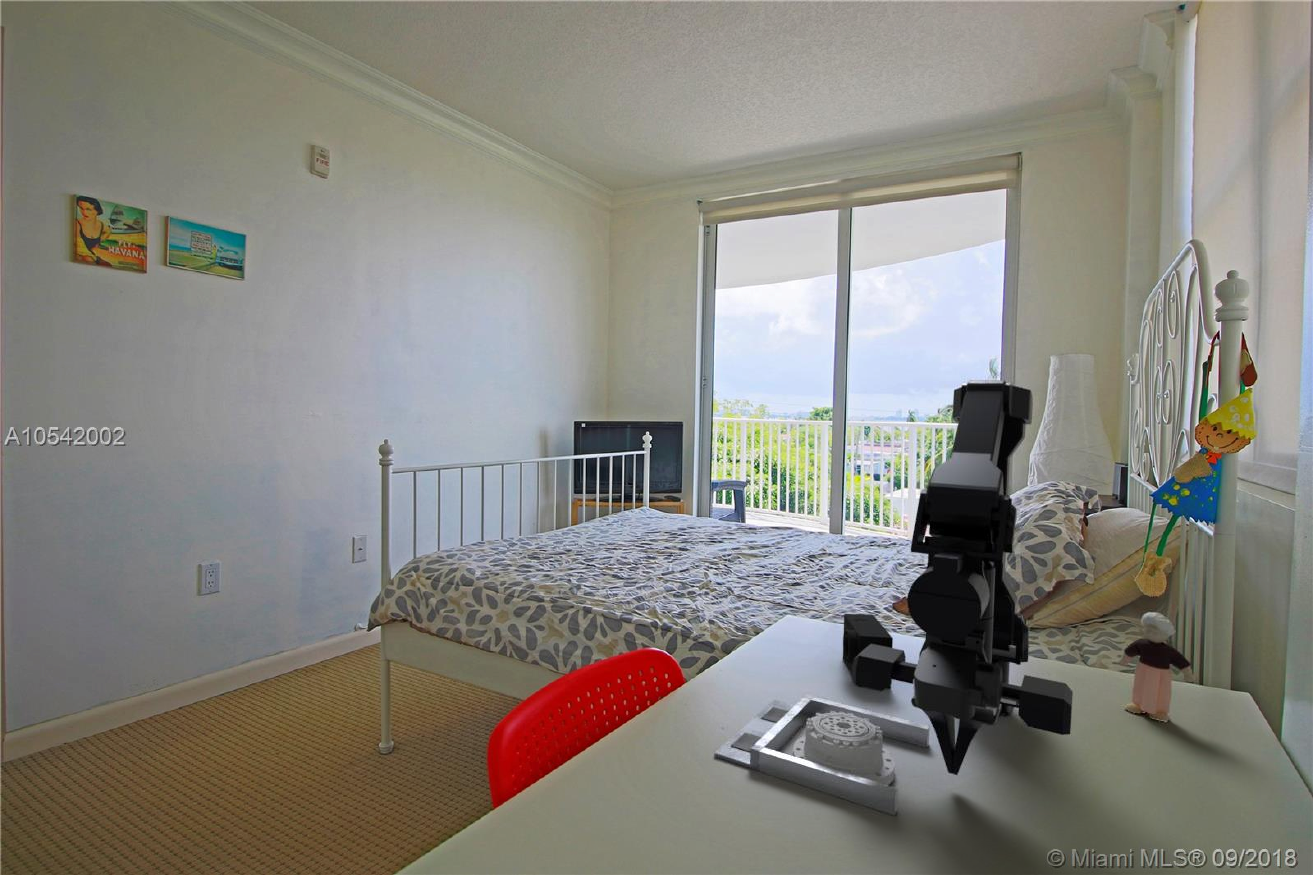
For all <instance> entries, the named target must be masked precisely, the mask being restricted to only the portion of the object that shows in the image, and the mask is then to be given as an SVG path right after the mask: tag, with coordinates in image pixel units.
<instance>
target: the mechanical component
mask: <svg viewBox="0 0 1313 875" xmlns="http://www.w3.org/2000/svg"><path fill="white" fill-rule="evenodd" d="M883 737H884V736H882V731H881V730H880V727H879V726H874V725H873V724H872V723H870V721H869V719H867V718H864V719H862V718H860V717H857V716H854V715H853V714H852V713H848V714H845V713H844V712H839V713H836V712H835V711H830V713H825V714H820V713H816V716H815V717H810V718H808V719H807V721H806V722H805V734H804V735H802V736H801V737H800V738H798V739H796V740H795V742H794V744H793V747H792V756H794V757H797V758H800V759H804V760H807V761H810V762H813V763H817V764H820V765H823V766H827V767H830V768H833V769H836V770H840V771H843V772H846V773H849V774H853V775H856V776H859V777H862V778H866V779H869V780H872V781H876V782H879V783H882V784H885V785H889V786H890V785H891V783H892V782H893V781H894V778H895V768H896V764H895V759H894V757H893V756H892V754H891V753H890V752H889V751H888V750H887V749H886V748H885V747H883V746H884V745H883V742H884V740H883Z"/></svg>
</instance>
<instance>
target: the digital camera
mask: <svg viewBox="0 0 1313 875" xmlns="http://www.w3.org/2000/svg"><path fill="white" fill-rule="evenodd" d="M893 641H894V640H893V636H891V634H890V633H889V632H888V630H887V629H886V628H885V627H884V626H883V625H882V623H881V622H880V621H879V620H878V619H877V617H876V616H875V615H873V614H860V613H859V614H858V613H856V614H855V613H844V615H843V636H842V661H843V663H844V664H845V667H846V668H847V670H848V671H849V673H850V675H851V676H852V665H853V661H854V659H855V658H856V657H857V656H858V655H859V654H860V653H861V652H862V651H863V650H864V649H865V648H866V647H868V646H869V645H870V644H875V645H879V646H884V647H889V648H893ZM857 687H858V688H861V687H860V686H857ZM887 689H888V690H890V689H892V684H891V685H890V686H889V687H888V688H886V689H885V690H887Z"/></svg>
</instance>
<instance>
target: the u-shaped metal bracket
mask: <svg viewBox="0 0 1313 875" xmlns="http://www.w3.org/2000/svg"><path fill="white" fill-rule="evenodd" d="M830 711H835V712H836V713H839V712H844V713H845V714H848V713H852V714H853V715H854V716H857V717H860V718H862V719H864V718H867V719H869V721H870V723H872V724H873V725H874V726H879V727H880V730H881V731H882V737H885V738H889V739H894V740H897V741H901V742H904V743H907V744H911V745H914V746H915V745H916V746H919V747H923V748H926V749H927V748H928V746H929V744H930V725H927V724H922V723H919V722H914V721H910V720H908V719H907V720H906V719H903V718H900V717H895V716H892V715H887V714H883V713H880V712H875V711H871V710H869V709H863V708H859V707H857V706H856V707H855V706H851V705H847V704H843V703H840V702H836V701H832V700H827V699H823V698H820V697H816V696H813V695H808V694H805V695H804V696H803V697H802V698H801V699H800V700H799V701H798V702H797V703H796V704H792V703H788V702H784V701H780V700H776V699H774V700H772V701H771V702H770V703H769V704H767V705H766V707H765V708H763V709H762V710H761V711H760V712H759V713H757V714H756V715H755V716H754V717H753V718H752V719H750V720H749V721H748V722H747V723H746V724H745V725H744V726H743V727H742V728H741V729H739V730H738V731H737V732H736V733H735V734H734V735H733V736H732V737H731V738H729V739H728V740H727V741H726V742H725V743H724V744H722V745H721V746H720V747H719V748H718V749H717V750H716V751H714V753H713V754H714V758H717V759H720V760H724V761H727V762H731V763H733V764H736V765H739V766H742V767H745V768H748V769H752V770H754V771H758V772H761V773H763V774H766V775H769V776H773V777H775V778H779V779H782V780H785V781H787V782H791V783H794V784H797V785H800V786H803V787H806V788H809V789H813V790H815V791H818V792H821V793H823V794H824V793H825V794H827V795H831V796H834V797H837V798H840V799H843V800H846V801H848V802H849V801H850V802H852V803H855V804H858V805H862V806H865V807H867V808H870V809H873V810H876V811H880V812H883V813H885V814H889V815H891V816H896V814H897V811H898V800H899V797H898V796H899V788H898V787H894V786H892V785H890V784H889V785H885V784H882V783H879V782H876V781H872V780H869V779H866V778H862V777H859V776H856V775H853V774H849V773H846V772H843V771H840V770H836V769H833V768H830V767H827V766H823V765H820V764H817V763H813V762H810V761H807V760H804V759H800V758H797V757H794V756H793V755H790V754H788V753H787V754H786V753H783V752H781V751H780V750H781V749H782V747H784V746H785V744H786V743H788V741H790V739H791V738H792V737H793V736H794V735H795V734H796V733H797V732H798V730H799V729H800V728H801V727H802V726H803V725H804V724H806V722H807V719H808V718H812V717H815V716H816V713H820V714H825V713H830Z"/></svg>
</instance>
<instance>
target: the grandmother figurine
mask: <svg viewBox="0 0 1313 875" xmlns="http://www.w3.org/2000/svg"><path fill="white" fill-rule="evenodd" d="M1140 621H1141V626H1142V632H1143V635H1144V637H1145V638H1143V637H1142V638H1138V639H1136V640H1134V641H1133V642H1131V643H1130V644H1129V645H1127V647H1125V648H1124V650H1123V653H1122V654H1121V657H1120V658H1119V659H1118V662H1119V664H1120V665H1121V666H1128V665H1129V664H1130V661H1131V660H1132V659H1133V657H1139V659H1138V661H1137V663H1136V665H1135V672H1134V677H1133V678H1134V679H1133V687H1132V694H1131V703H1128V704H1126V705H1125V706H1124V709H1125V708H1126V710H1129V711H1131V712H1135V713H1143V712H1147V714H1148V717H1149V716H1150V717H1151V718H1154V719H1159V720H1164V721H1165V720H1166V721H1168V720H1169V721H1170V715H1169V713H1170V705H1171V700H1172V692H1173V691H1172V682H1173V681H1172V680H1173V679H1172V669H1171V666H1174V667H1175V668H1177V669H1178V670H1180V672H1181V673H1182V674H1183V677H1184V680H1185V681H1186V682H1189V683H1192V682H1193V683H1194V682H1195V680H1196V677H1195V675H1194V673H1193V669H1192V668H1191V665H1192V664H1191V662H1190V661H1189V660H1188V659H1187V658H1186V657H1185V656H1184V655H1183V654H1182V653H1181V652H1180V651H1179V650H1177V649H1176V648H1175V647H1172V646H1171V645H1170V644H1168V643H1166V641H1167V640H1169V637H1171V636H1173V635H1174V634H1175V633H1177V631H1176V630H1175V627H1174V625H1173V624H1172V622H1171V620H1170V619H1168V618H1167V617H1166V616H1164V614H1162V613H1160V612H1151V611H1149V612H1146V613H1144V614H1143V615H1142V616H1141V620H1140ZM1126 710H1125V711H1126ZM1129 711H1128V712H1129ZM1131 712H1130V713H1131ZM1135 713H1134V714H1135ZM1151 718H1150V719H1151Z"/></svg>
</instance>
